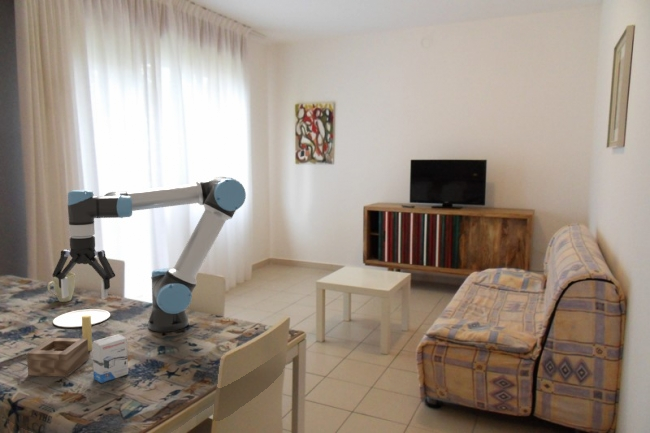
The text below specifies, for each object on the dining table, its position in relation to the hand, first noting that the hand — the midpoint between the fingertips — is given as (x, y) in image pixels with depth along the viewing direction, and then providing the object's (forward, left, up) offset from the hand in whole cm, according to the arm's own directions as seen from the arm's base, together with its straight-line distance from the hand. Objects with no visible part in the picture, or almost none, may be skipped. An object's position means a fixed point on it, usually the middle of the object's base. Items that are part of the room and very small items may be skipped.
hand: (85, 297), depth 154 cm
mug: (+39, -51, -19) cm, 67 cm away
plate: (+18, -29, -19) cm, 39 cm away
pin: (0, 0, -19) cm, 19 cm away
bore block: (+2, +13, -19) cm, 23 cm away
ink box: (-17, +18, -19) cm, 31 cm away
